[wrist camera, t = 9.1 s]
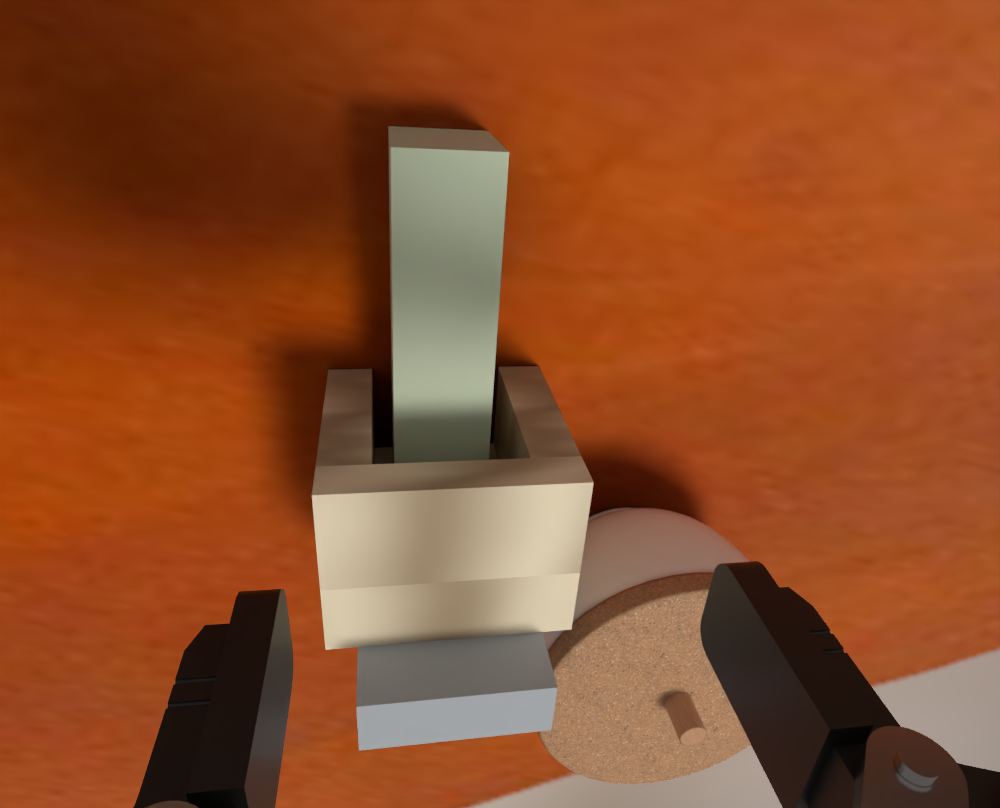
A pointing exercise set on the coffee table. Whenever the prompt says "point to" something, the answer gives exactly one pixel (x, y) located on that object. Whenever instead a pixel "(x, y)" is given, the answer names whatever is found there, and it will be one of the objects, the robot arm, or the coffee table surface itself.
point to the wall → (453, 690)
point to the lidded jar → (641, 653)
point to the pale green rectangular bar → (444, 289)
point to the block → (448, 523)
